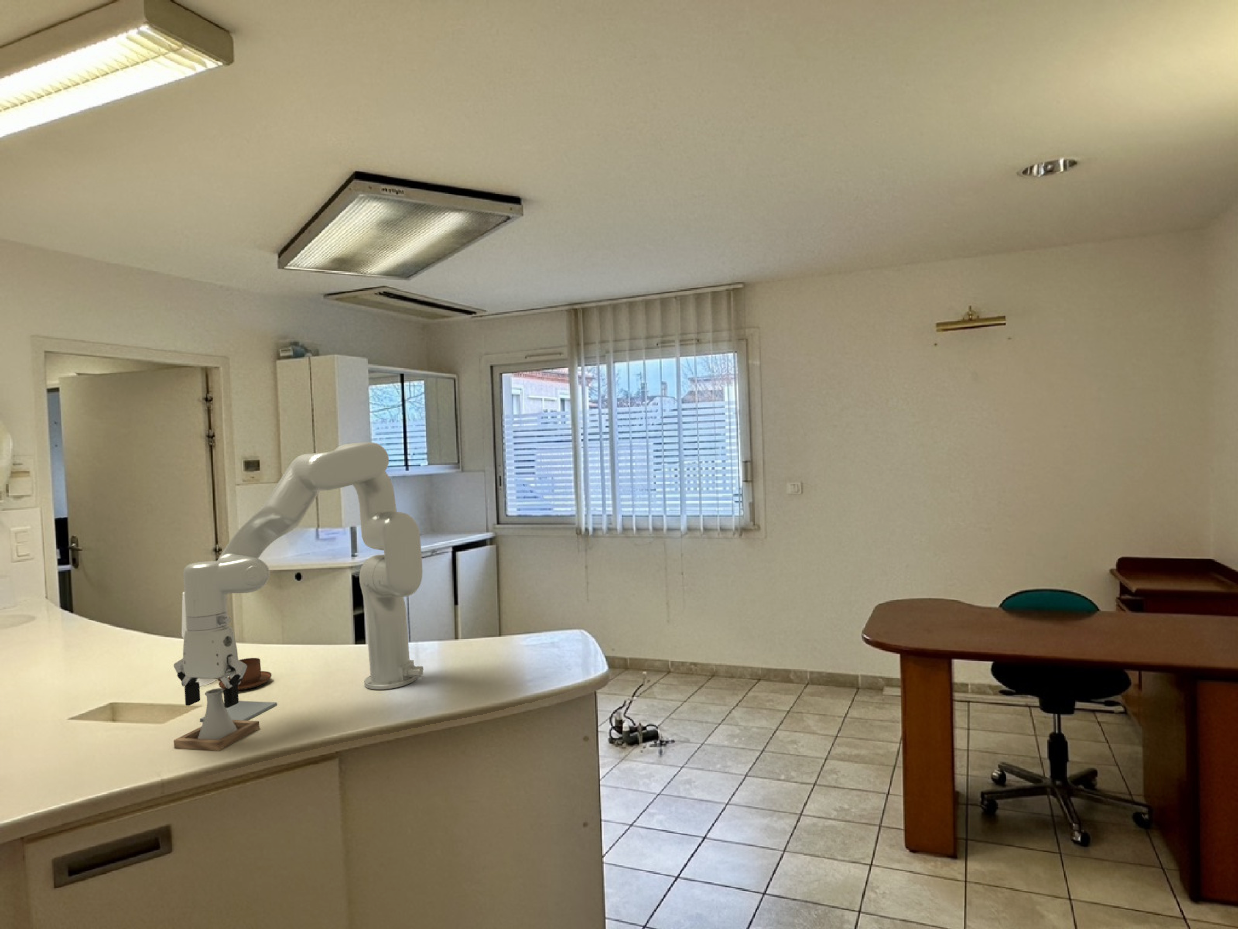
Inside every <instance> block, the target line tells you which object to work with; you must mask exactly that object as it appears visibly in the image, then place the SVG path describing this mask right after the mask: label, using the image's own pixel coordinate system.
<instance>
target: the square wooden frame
mask: <svg viewBox="0 0 1238 929" xmlns="http://www.w3.org/2000/svg"><path fill="white" fill-rule="evenodd" d="M232 721H233V723H234V724H235V726H236V728H237V730H236V731H234V732H232V733H231V734H229V735H227V736H225V737H223V738H221V739H219V740H209V739H198V736H199V733H200V730H201V727H202V725H201V726H200V727H197V728H195V729H194V730H191V731H190V732H188V733H185V734H184V735H181V736H179V737H177V738H175V739H173V748H174V749H185V750H199V751H201V750H202V751H216V752H218V751H219V752H220V751H221V750H223V749H225V748H227V747H228V746H230V745H232V744H234V743H237V741H240V740H241V739H243V738H245V737H247V736H249V735H250V734H253V733H254V732H256V731H258V730H259V729H260V721H259V720H247V721H245V720H232Z"/></svg>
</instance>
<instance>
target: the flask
mask: <svg viewBox="0 0 1238 929" xmlns="http://www.w3.org/2000/svg"><path fill="white" fill-rule="evenodd" d="M223 690H224V689H222V688H221V687H219V688H212V689H208V690H207V691H206V692H205V693H204V695H205V696H206V708H205V709H206V710H205V714H204V716H203V717H204V721H203V722H202V725H201V726H202V727H201V726H200V727H201V730H200V733H199V736H198V739H209V740H219V739H221V738H223V737H225V736H227V735H229V734H231V733H232V732H234V731H236V730H237V728H236V726H235V724H234V723H233V721H232V719H231V717H230V715H229V714H228V712H227V710H226V708H225V707H224V696H223V693H224V692H223Z"/></svg>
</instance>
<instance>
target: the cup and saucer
mask: <svg viewBox="0 0 1238 929" xmlns="http://www.w3.org/2000/svg"><path fill="white" fill-rule="evenodd" d="M239 660H240V661H241V662H243V663H245V664H246V665H247V669H246V671H245V674H244V678H243V679H242V680H241V683H240V684H238V691H243V690H249V689H253V688H256V687H258V686H261V685H264V684H265V683H267V682H268V681H269V680H270V679H271V678H272V676H273V674H272V672H270V671H267V670H266V671H265V670H262V668H261V667H262V665H261V658H259V657H247V658H242V659H239ZM235 674H236V673H235ZM228 679H229V680H231V678H230V677H229V676H228ZM217 680H218V686H219V688H221V689H224V688H226V686H225V685H224V684H223V682H222V681H221V679H217Z"/></svg>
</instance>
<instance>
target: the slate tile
mask: <svg viewBox="0 0 1238 929" xmlns="http://www.w3.org/2000/svg"><path fill="white" fill-rule="evenodd" d="M277 705H278V702H275V701H273V702H272V701H253V700H252V701H250V700H249V701H248V700H239V702H238V704H236V705H233V706H231V707H229V708H226V710H227V712H228V714H229V715H230V717H231V719H232V720H245V721H250V720H251V719H253V718H255V717H257V716H259V715H260V714H262V713H265V712H266V711H268V710H270V709H272V708H274V707H276V706H277ZM204 717H205V716H203V717H201V718H199V722H201V723H203V721H204Z"/></svg>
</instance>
